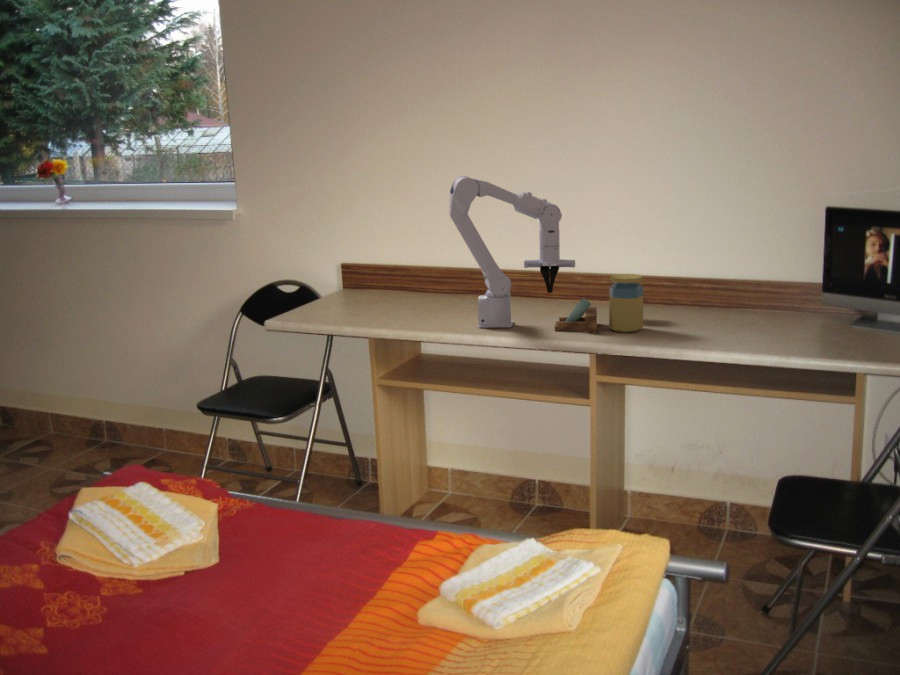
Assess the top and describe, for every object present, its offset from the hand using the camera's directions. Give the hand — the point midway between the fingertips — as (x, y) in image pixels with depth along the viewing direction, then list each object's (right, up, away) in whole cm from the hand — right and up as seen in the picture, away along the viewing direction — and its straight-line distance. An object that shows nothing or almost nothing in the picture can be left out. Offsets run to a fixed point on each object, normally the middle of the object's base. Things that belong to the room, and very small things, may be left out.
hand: (549, 292), depth 270 cm
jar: (+20, -11, -11) cm, 25 cm away
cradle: (+7, -10, -7) cm, 14 cm away
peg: (+5, -10, -7) cm, 13 cm away
